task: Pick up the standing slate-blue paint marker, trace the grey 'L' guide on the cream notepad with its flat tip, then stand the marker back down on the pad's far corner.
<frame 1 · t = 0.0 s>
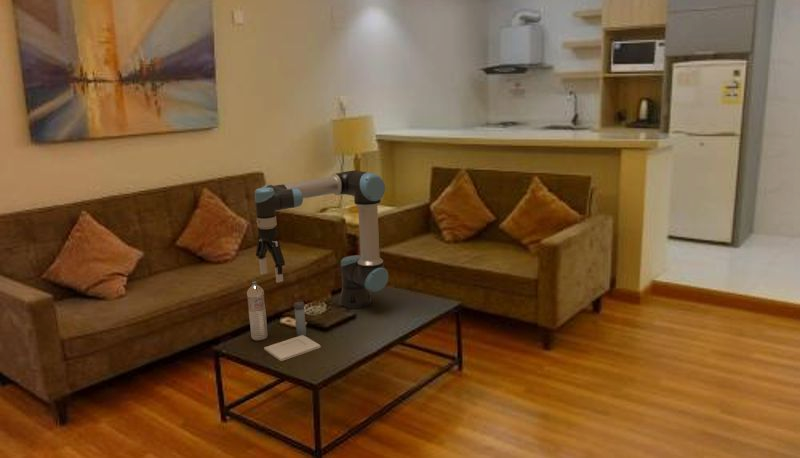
hand: (271, 277, 254), 28 cm above the table, fingers open, 13 cm apart
marker: (301, 334, 267), on the table
water bottle: (259, 338, 265), on the table
notepad: (292, 348, 253), on the table
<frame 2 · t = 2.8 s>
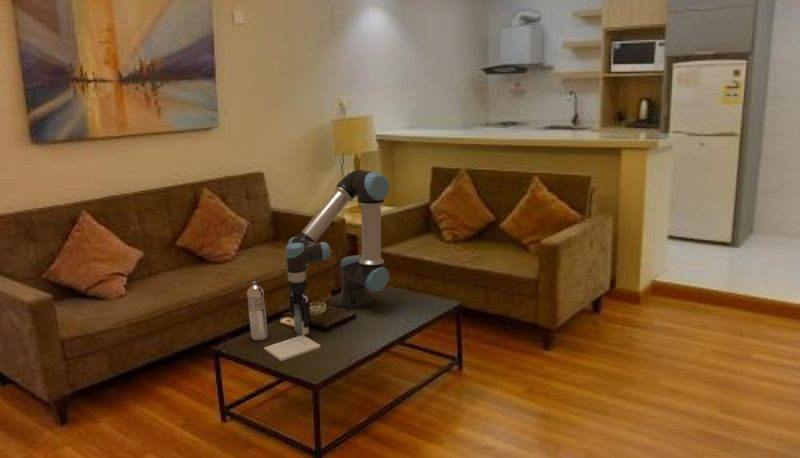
hand: (301, 331, 266), 1 cm above the table, fingers open, 5 cm apart
nothing on the table moved.
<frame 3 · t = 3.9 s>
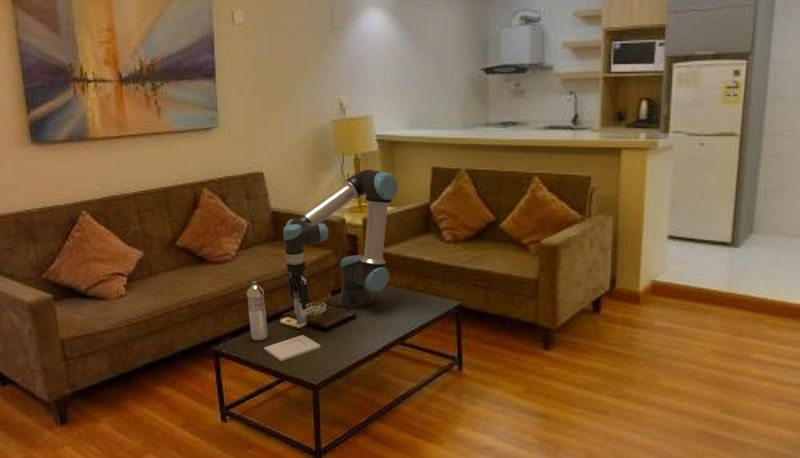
hand: (301, 314, 265), 9 cm above the table, fingers closed on marker, 4 cm apart
marker: (301, 321, 266), point 5 cm above the table, touching gripper
everything else where it was.
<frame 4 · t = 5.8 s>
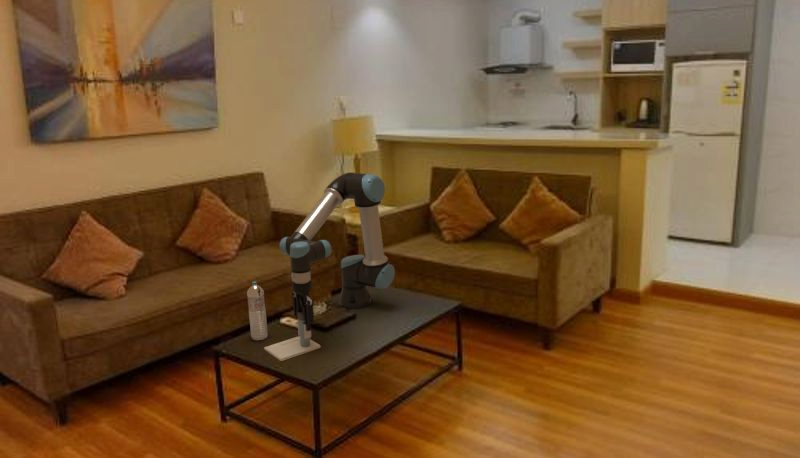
hand: (304, 335, 253), 5 cm above the table, fingers closed on marker, 4 cm apart
marker: (305, 344, 254), point 1 cm above the table, touching gripper, notepad
everything else where it was.
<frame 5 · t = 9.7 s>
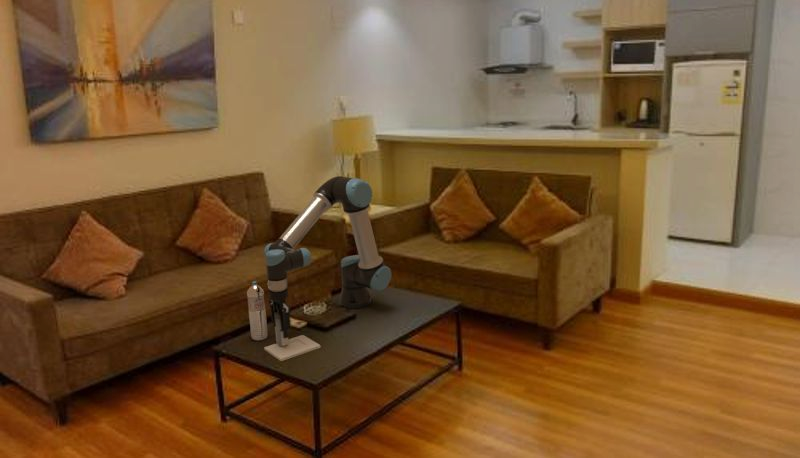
hand: (282, 342, 255), 2 cm above the table, fingers closed on marker, 4 cm apart
marker: (282, 344, 255), point 1 cm above the table, touching gripper
everything else where it was.
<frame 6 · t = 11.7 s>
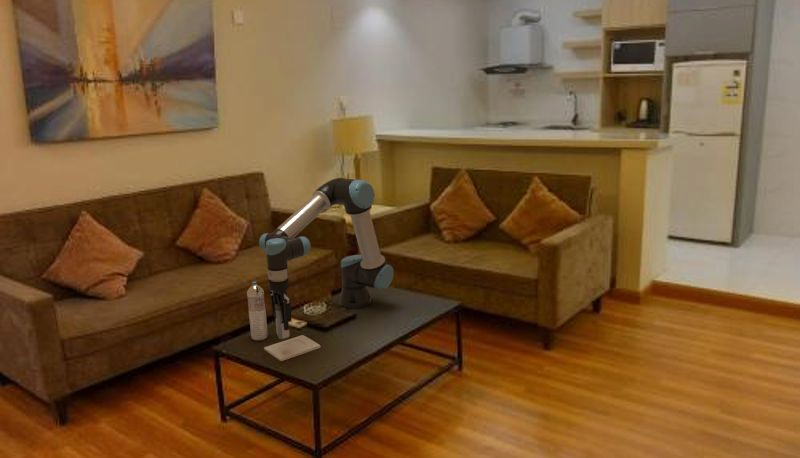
hand: (283, 335, 246), 8 cm above the table, fingers closed on marker, 4 cm apart
marker: (283, 336, 246), point 8 cm above the table, touching gripper
everything else where it was.
when the fingers open (2 cm above the table, at t = 12.9 s): marker stays where it is, resting on notepad.
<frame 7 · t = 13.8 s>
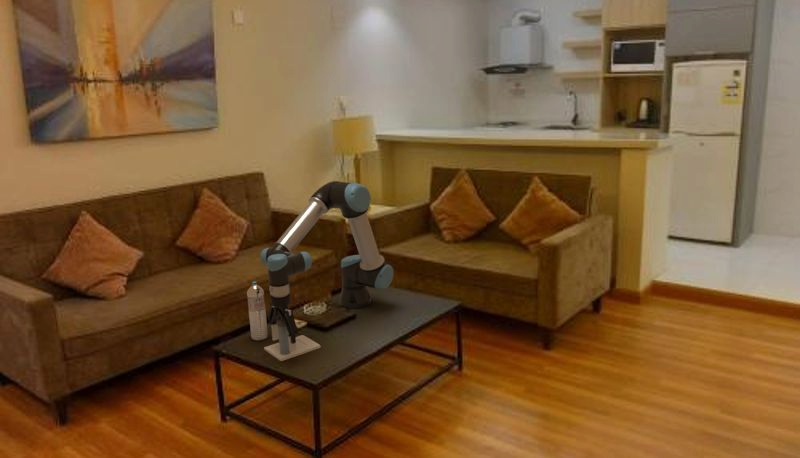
hand: (284, 344, 247), 4 cm above the table, fingers open, 13 cm apart
marker: (285, 352, 248), point 1 cm above the table, touching notepad
everything else where it was.
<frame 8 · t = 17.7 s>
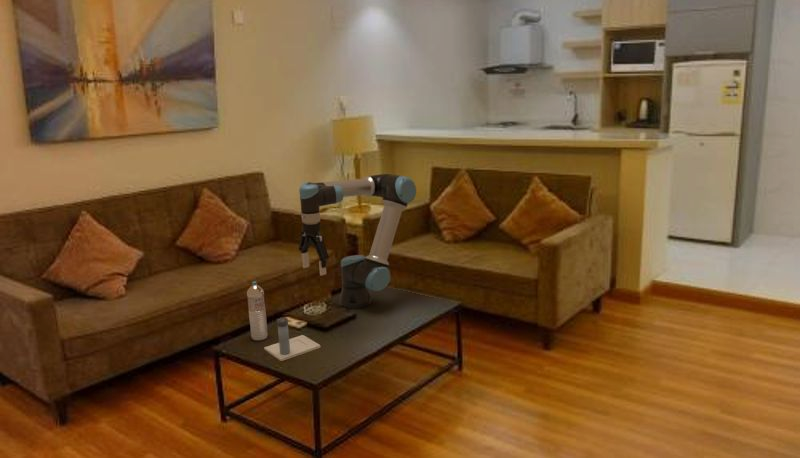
hand: (314, 271, 264), 27 cm above the table, fingers open, 13 cm apart
nothing on the table moved.
at the end: marker inside the target area on the notepad (5.8 cm from its centre), point 1.0 cm above the notepad's base; marker tilted 0°; the gripper is holding nothing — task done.
